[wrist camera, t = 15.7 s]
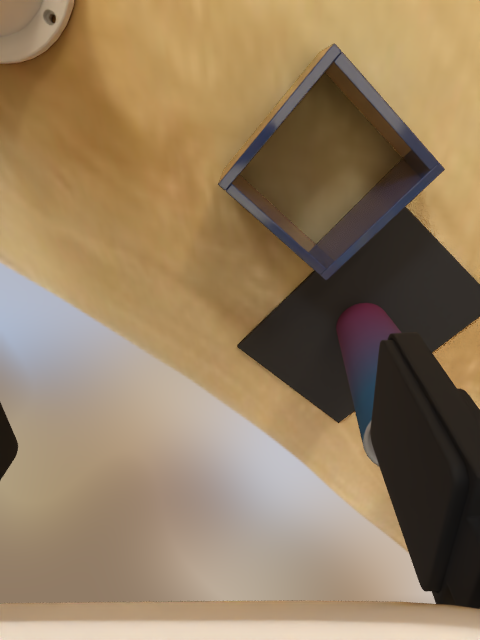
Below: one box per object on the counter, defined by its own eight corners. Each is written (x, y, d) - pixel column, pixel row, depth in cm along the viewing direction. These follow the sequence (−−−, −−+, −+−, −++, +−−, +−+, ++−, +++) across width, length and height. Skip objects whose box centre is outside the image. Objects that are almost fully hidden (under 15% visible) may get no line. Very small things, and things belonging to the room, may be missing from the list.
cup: (373, 363, 43) (428, 484, 30) (314, 340, 42) (344, 455, 28) (411, 309, 40) (492, 417, 27) (349, 283, 39) (400, 382, 25)
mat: (237, 344, 43) (237, 347, 42) (393, 194, 35) (394, 195, 35) (337, 420, 47) (338, 423, 47) (495, 301, 40) (497, 303, 39)
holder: (222, 170, 35) (217, 184, 29) (319, 51, 30) (334, 42, 25) (315, 254, 38) (326, 281, 33) (414, 157, 34) (445, 169, 28)
